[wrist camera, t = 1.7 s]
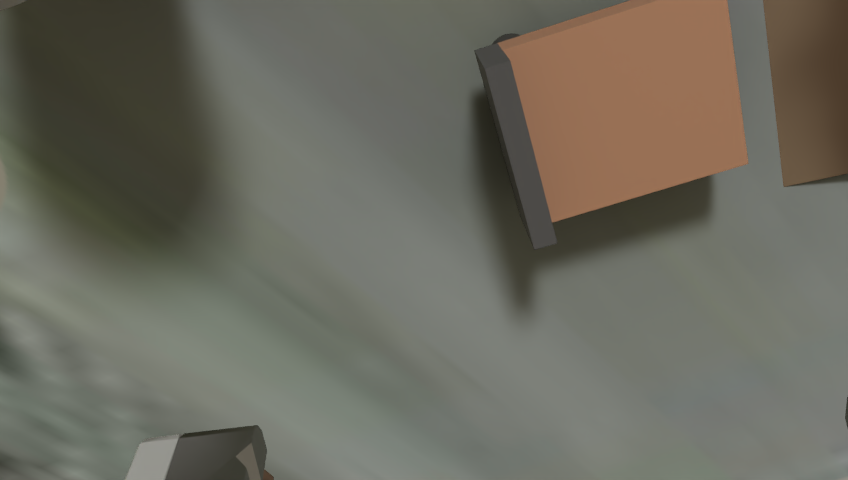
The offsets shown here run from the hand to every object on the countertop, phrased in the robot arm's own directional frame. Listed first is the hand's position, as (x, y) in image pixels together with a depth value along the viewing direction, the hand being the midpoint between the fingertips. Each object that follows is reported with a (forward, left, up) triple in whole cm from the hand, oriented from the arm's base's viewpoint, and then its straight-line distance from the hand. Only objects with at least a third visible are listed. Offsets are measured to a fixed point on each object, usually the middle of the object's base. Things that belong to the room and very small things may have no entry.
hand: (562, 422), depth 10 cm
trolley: (-7, +4, -26) cm, 27 cm away
